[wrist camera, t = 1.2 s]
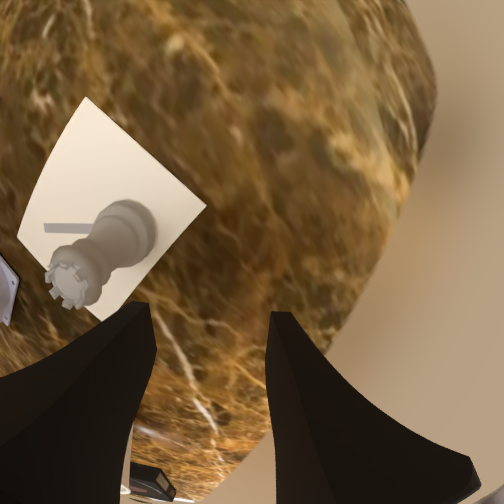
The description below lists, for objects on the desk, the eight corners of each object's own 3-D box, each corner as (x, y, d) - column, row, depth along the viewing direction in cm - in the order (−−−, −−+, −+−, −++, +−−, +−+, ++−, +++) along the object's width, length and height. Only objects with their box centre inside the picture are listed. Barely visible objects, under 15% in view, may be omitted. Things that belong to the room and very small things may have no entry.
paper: (106, 324, 21) (106, 325, 20) (17, 236, 17) (16, 236, 17) (206, 205, 17) (206, 205, 17) (86, 96, 14) (85, 96, 13)
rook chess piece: (168, 216, 17) (114, 271, 10) (145, 270, 18) (96, 341, 11) (112, 187, 16) (36, 222, 9) (95, 242, 18) (29, 297, 10)
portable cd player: (176, 488, 41) (175, 502, 37) (109, 472, 40) (106, 485, 36) (161, 466, 34) (158, 483, 31) (82, 444, 34) (76, 458, 30)
